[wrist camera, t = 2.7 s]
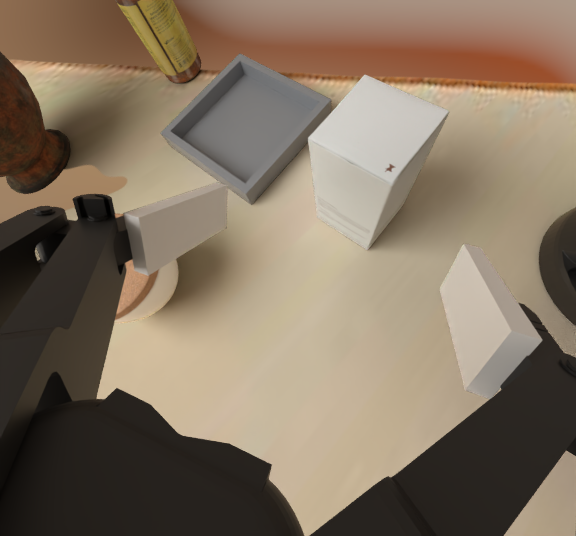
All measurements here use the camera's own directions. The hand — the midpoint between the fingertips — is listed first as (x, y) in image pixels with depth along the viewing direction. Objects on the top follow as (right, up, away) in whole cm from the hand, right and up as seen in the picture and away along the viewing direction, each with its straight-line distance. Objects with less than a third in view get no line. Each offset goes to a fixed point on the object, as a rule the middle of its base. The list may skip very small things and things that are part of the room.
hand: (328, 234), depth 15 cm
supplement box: (+6, +5, +16) cm, 18 cm away
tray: (-8, +17, +22) cm, 28 cm away
